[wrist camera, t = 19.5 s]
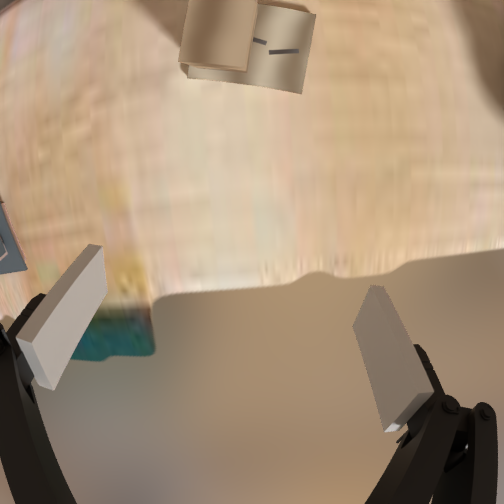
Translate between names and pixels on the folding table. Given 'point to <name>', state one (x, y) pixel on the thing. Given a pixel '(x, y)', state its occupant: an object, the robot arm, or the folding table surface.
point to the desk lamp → (9, 246)
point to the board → (272, 51)
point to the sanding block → (219, 34)
